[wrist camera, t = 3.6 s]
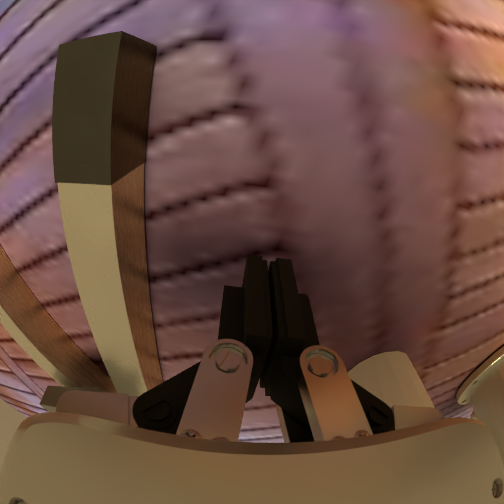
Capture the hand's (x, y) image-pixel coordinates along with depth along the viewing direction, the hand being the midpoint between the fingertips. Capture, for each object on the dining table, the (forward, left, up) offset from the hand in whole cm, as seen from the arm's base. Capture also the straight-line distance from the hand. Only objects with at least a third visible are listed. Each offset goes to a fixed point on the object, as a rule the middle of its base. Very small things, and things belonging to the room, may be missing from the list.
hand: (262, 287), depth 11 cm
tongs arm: (+1, +7, -2) cm, 8 cm away
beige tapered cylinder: (-14, -5, -3) cm, 15 cm away
